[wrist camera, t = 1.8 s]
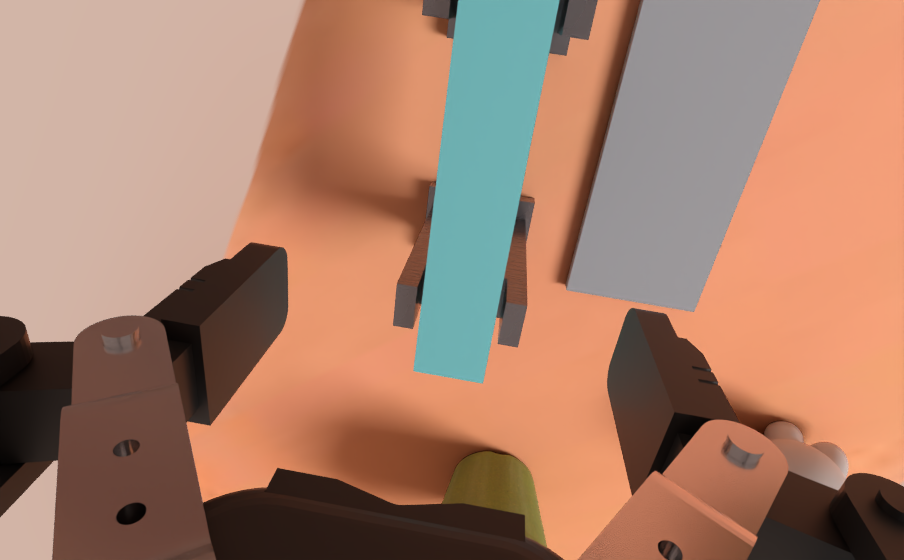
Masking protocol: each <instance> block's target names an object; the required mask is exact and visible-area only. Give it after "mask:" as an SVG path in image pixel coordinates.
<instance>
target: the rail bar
mask: <svg viewBox="0 0 904 560" xmlns="http://www.w3.org/2000/svg"><path fill="white" fill-rule="evenodd" d="M558 5H559V0H458V7H457V15H456V23H455V31H454V40H453V48H452V56H451V64H450V73H449V81H448V89H447V98H446V106H445V114H444V122H443V131H442V139H441V147H440V156H439V164H438V172H437V180H436V189H435V197H434V205H433V213H432V222H431V230H430V238H429V247H428V255H427V263H426V271H425V280H424V288H423V296H422V304H421V313H420V321H419V329H418V338H417V346H416V354H415V362H414V371H416V372H421V373H427V374H432V375H438V376H444V377H449V378H455V379H460V380H466V381H471V382H477V383H483V380H484V375H485V370H486V365H487V360H488V355H489V350H490V345H491V340H492V335H493V330H494V325H495V320H496V315H497V310H498V305H499V300H500V295H501V290H502V285H503V280H504V275H505V270H506V265H507V260H508V255H509V250H510V245H511V240H512V235H513V230H514V225H515V220H516V215H517V210H518V205H519V200H520V195H521V190H522V185H523V180H524V175H525V170H526V165H527V160H528V155H529V150H530V145H531V140H532V135H533V130H534V125H535V120H536V115H537V110H538V105H539V100H540V95H541V90H542V85H543V80H544V75H545V70H546V65H547V60H548V55H549V50H550V45H551V40H552V35H553V30H554V25H555V20H556V15H557V10H558Z"/></svg>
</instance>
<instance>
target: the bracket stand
mask: <svg viewBox="0 0 904 560" xmlns="http://www.w3.org/2000/svg"><path fill="white" fill-rule="evenodd" d="M597 1H598V0H559V5H558V10H557V15H556V20H555V25H554V30H553V35H552V40H551V45H550V50H549V53H552V54H559V55H565V56H566V55H567V50H568V45H569V41H570V37H572V38H579V39H586V40H589V35H590V31H591V27H592V22H593V18H594V14H595V9H596V5H597ZM457 7H458V0H423V11H422V15H426V16H432V17H439V18H446V19H449V22H448V30H447V38H453V39H454V31H455V23H456V15H457ZM435 189H436V182H431V184H430V187H429V195H428V204H427V213H426V221H425V223H424V225H423V227H422V230H421V232H420V234H419V236H418V238H417V241H416V243H415V245H414V247H413V249H412V252H411V254H410V256H409V258H408V260H407V263H406V265H405V267H404V269H403V271H402V274H401V276H400V278H399V280H398V282H397V289H396V299H395V310H394V321H393V326H399V327H405V328H410V329H413V326H414V324H415V321H416V318H417V315H418V312H419V309H420V306H421V304H422V296H423V288H424V280H425V271H426V263H427V255H428V247H429V238H430V230H431V222H432V213H433V205H434V197H435ZM534 204H535V201H534V198H529V197H523V196H520V200H519V205H518V210H517V215H516V220H515V225H514V230H513V235H512V240H511V245H510V250H509V255H508V260H507V265H506V270H505V275H504V280H503V285H502V290H501V295H500V300H499V305H498V310H497V315H496V317H497V318H500V319H499V333H498V344H501V345H507V346H513V347H518V344H519V340H520V335H521V331H522V327H523V322H524V318H525V314H526V309H527V270H526V241H527V236H528V232H529V227H530V222H531V218H532V213H533V208H534Z"/></svg>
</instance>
